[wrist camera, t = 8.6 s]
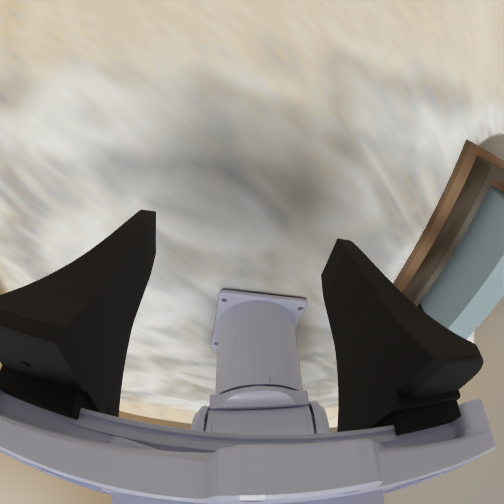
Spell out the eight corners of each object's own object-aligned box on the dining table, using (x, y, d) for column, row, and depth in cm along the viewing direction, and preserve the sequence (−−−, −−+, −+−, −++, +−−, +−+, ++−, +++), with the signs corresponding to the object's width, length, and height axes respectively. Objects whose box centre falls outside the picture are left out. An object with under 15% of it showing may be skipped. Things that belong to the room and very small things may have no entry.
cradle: (446, 308, 30) (454, 324, 28) (380, 303, 29) (387, 323, 27) (526, 176, 19) (542, 190, 17) (466, 139, 18) (486, 153, 16)
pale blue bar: (443, 295, 28) (466, 339, 23) (415, 292, 27) (437, 340, 22) (506, 193, 20) (545, 232, 15) (480, 179, 19) (523, 220, 14)
